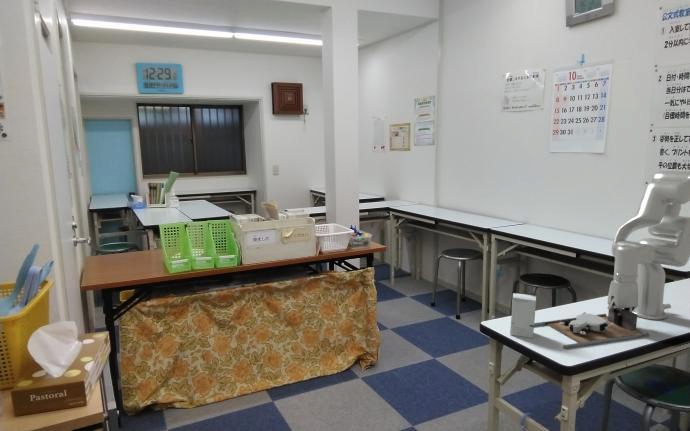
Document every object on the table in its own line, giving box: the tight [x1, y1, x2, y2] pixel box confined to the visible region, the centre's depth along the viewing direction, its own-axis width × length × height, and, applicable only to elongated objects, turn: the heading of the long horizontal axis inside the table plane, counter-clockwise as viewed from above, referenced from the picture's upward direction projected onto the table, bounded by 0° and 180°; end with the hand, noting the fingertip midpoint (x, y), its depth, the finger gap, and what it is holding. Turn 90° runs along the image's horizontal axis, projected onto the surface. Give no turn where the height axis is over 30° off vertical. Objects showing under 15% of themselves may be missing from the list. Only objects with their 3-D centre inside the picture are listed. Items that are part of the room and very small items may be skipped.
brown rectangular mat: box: [546, 308, 645, 343], centre depth 167 cm, size 28×18×6 cm, turn 104°
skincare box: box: [509, 292, 537, 339], centre depth 165 cm, size 8×6×15 cm
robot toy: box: [559, 311, 613, 335], centre depth 166 cm, size 12×4×15 cm
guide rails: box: [534, 313, 650, 350], centre depth 167 cm, size 36×20×1 cm, turn 104°
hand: (621, 323), depth 170 cm, fingers closed on brown rectangular mat, 3 cm apart
